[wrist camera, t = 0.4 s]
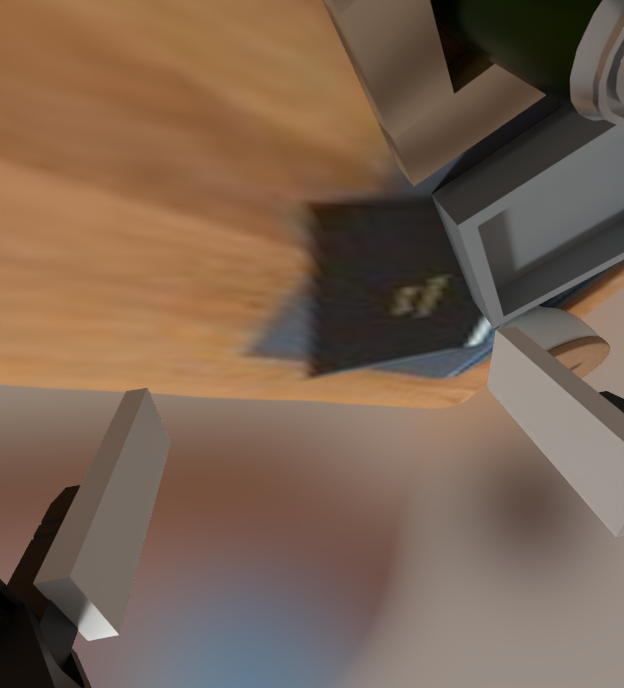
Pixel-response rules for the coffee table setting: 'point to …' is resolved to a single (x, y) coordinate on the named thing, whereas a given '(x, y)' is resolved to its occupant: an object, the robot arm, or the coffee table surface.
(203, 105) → the coffee table surface
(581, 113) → the beer can
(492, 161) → the bin
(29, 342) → the coffee table surface
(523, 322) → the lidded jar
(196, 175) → the coffee table surface
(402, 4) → the socket block
